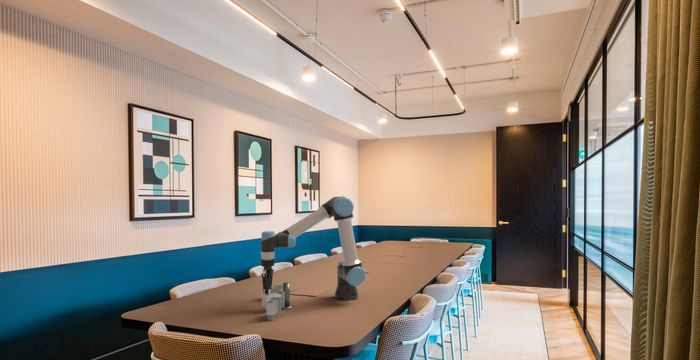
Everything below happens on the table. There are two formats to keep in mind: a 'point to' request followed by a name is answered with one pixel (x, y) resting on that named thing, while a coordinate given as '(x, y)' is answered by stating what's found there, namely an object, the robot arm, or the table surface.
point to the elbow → (267, 297)
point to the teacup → (275, 288)
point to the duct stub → (273, 307)
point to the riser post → (287, 295)
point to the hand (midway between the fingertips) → (267, 300)
